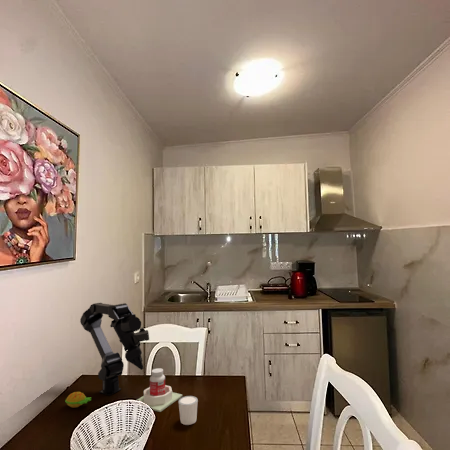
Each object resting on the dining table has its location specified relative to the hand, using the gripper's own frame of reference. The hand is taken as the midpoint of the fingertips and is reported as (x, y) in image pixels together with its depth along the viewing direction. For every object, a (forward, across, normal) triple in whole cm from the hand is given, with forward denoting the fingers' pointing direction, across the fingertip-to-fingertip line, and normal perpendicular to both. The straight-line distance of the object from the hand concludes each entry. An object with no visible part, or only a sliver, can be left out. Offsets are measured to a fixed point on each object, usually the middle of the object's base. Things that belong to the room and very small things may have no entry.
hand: (142, 365), depth 135 cm
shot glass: (+18, -27, -8) cm, 33 cm away
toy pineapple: (0, -2, +27) cm, 27 cm away
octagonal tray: (+13, -8, 0) cm, 15 cm away
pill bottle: (+13, -7, 0) cm, 15 cm away
